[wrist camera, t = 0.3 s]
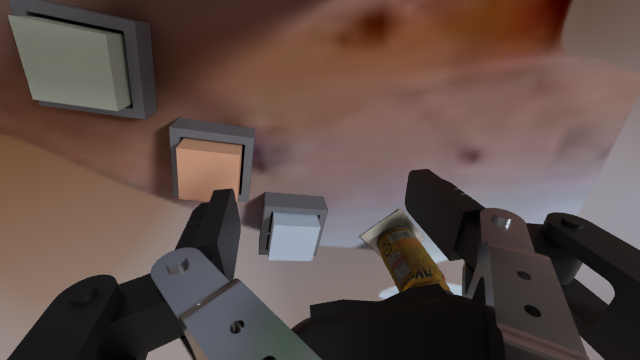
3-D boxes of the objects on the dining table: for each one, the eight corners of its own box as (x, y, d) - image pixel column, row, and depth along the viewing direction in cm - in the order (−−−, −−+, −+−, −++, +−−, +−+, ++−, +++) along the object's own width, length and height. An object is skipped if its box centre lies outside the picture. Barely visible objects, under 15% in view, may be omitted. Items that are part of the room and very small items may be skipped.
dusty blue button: (273, 209, 31) (273, 225, 29) (316, 212, 33) (320, 227, 30) (268, 242, 34) (268, 260, 31) (308, 244, 35) (311, 260, 32)
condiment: (386, 262, 43) (424, 334, 33) (359, 235, 39) (392, 308, 29) (423, 237, 42) (474, 304, 31) (399, 207, 37) (449, 273, 27)
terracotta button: (185, 136, 25) (176, 148, 23) (242, 143, 27) (240, 155, 24) (187, 183, 28) (178, 199, 25) (239, 188, 29) (236, 203, 26)
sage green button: (42, 17, 19) (7, 15, 17) (125, 34, 21) (105, 34, 18) (60, 91, 22) (33, 99, 19) (134, 102, 23) (117, 111, 20)
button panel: (77, -50, 19) (48, -62, 17) (344, 217, 36) (350, 231, 34) (-1, 51, 21) (-38, 53, 19) (287, 258, 38) (288, 274, 36)
